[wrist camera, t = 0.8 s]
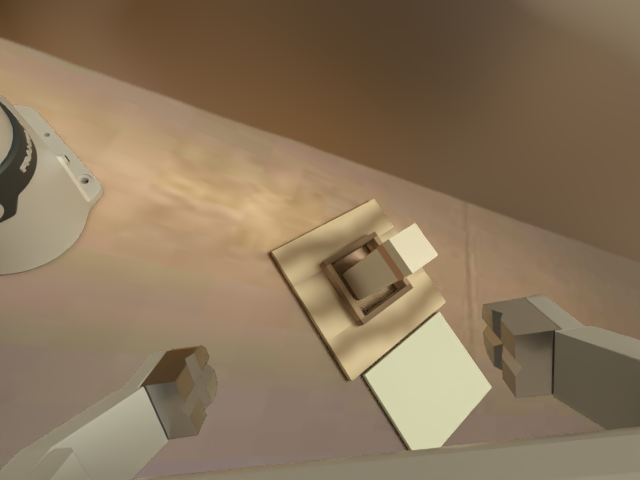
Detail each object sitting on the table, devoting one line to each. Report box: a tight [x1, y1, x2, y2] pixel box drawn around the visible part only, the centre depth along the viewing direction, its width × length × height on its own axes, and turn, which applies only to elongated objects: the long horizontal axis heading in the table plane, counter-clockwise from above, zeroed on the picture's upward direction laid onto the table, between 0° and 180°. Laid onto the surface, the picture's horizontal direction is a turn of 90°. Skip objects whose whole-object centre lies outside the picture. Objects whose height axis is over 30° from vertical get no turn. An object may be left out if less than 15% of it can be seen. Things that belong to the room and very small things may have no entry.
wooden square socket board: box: [271, 199, 446, 381], centre depth 48 cm, size 20×20×3 cm
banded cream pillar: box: [342, 224, 438, 300], centre depth 43 cm, size 5×5×14 cm
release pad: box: [362, 312, 492, 450], centre depth 46 cm, size 13×16×1 cm
